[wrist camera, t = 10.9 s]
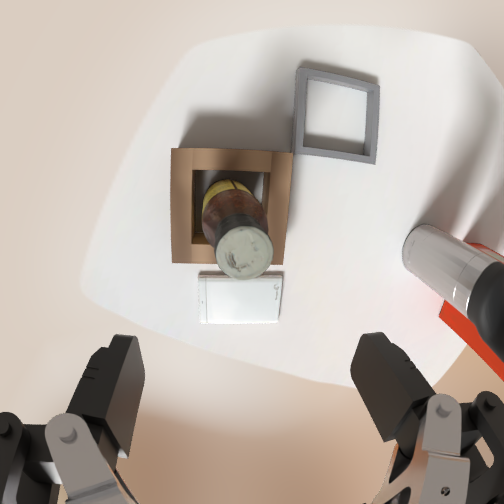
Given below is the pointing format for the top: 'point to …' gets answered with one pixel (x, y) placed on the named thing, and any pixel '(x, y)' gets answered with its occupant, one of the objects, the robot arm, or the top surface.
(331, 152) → the square frame
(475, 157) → the top surface
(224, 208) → the sauce bottle
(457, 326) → the file binder
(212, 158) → the holder
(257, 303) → the hard drive
